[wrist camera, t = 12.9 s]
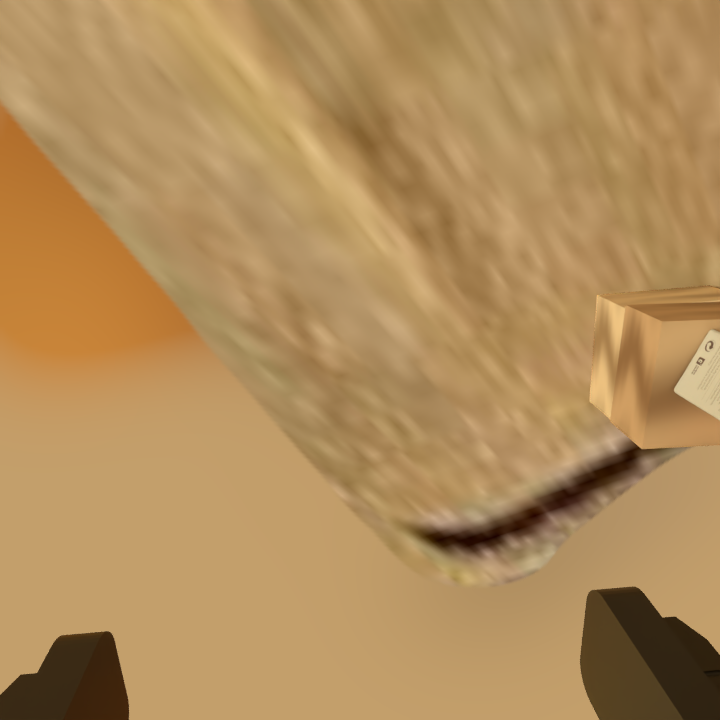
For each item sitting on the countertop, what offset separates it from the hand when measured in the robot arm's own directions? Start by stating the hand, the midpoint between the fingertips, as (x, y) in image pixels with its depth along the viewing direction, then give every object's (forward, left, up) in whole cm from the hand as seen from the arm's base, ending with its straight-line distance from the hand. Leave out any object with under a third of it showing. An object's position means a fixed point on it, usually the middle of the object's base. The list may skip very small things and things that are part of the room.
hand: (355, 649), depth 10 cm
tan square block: (+6, +23, -26) cm, 35 cm away
